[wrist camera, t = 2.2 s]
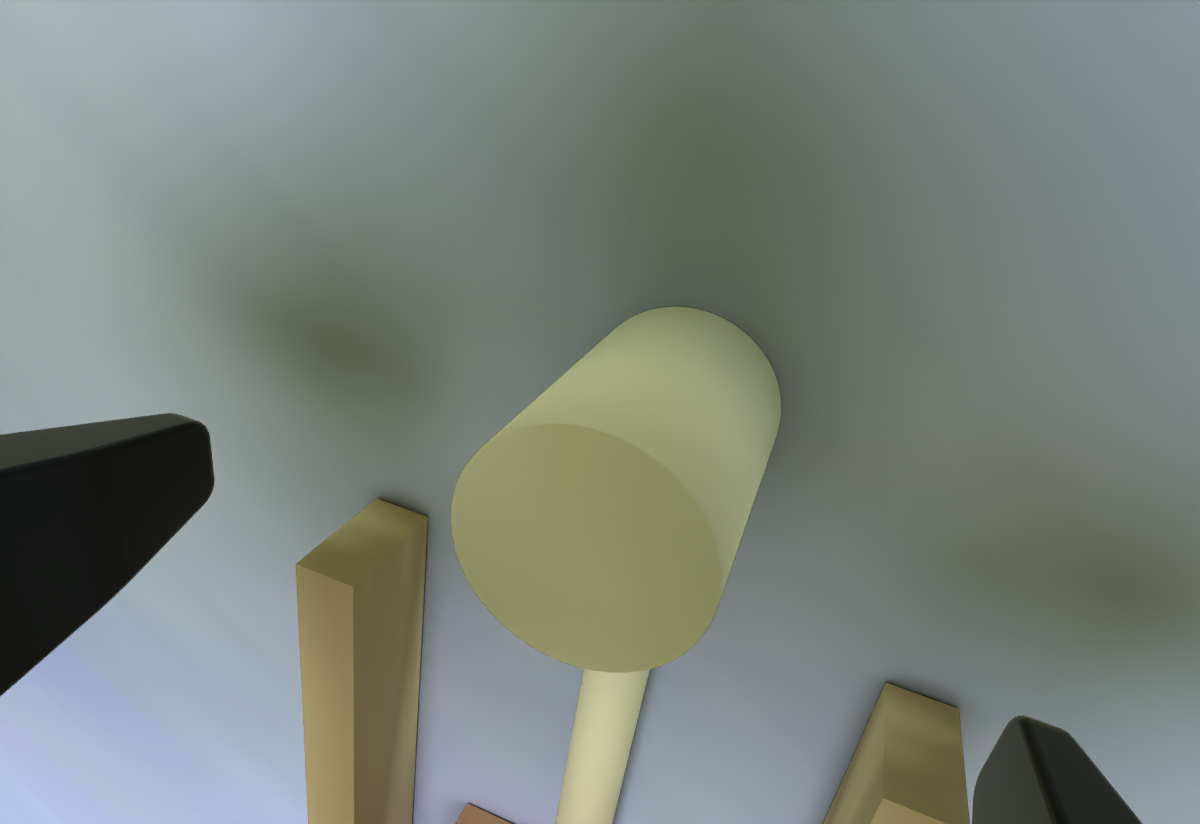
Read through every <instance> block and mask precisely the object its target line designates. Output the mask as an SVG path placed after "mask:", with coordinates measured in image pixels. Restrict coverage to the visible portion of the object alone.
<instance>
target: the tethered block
mask: <svg viewBox="0 0 1200 824" xmlns="http://www.w3.org/2000/svg"><path fill="white" fill-rule="evenodd" d="M780 420H781V395H780V390H779V386H778V382H777V379H776V376H775V374H774V371H773V369H772V367H771V365H770V363H769V361H768V359H767V357H766V356H765V355H764V353H763V352H762V351H761V349H760V348H759V346H758V345H757V344H756V343H755V342H754V341H753V340H752V339H751V338H750V337H749V336H748V335H747V334H746V333H744V332H743V331H742V330H741V329H740V328H738V327H737V326H735V325H734V324H732V323H730V322H729V321H727V320H725V319H723V318H721V317H719V316H717V315H715V314H712V313H709V312H706V311H703V310H699V309H694V308H688V307H662V308H657V309H652V310H648V311H645V312H643V313H640V314H637V315H635V316H633V317H631V318H629V319H628V320H626V321H625V322H623V323H622V324H620V325H619V326H618V327H616V328H615V329H614V330H613V331H612V332H611V333H610V334H609V335H607V336H606V337H605V338H604V339H603V340H602V341H601V342H600V343H598V344H597V345H596V346H595V347H594V348H593V349H592V350H591V351H589V352H588V353H587V354H586V355H585V356H584V357H583V358H582V359H580V360H579V361H578V362H577V363H576V364H575V365H574V366H573V367H571V368H570V369H569V370H568V371H567V372H566V373H565V374H564V375H562V376H561V377H560V378H559V379H558V380H557V381H556V382H555V383H553V384H552V385H551V386H550V387H549V388H548V389H547V390H546V391H544V392H543V393H542V394H541V395H540V396H539V397H538V398H537V399H535V400H534V401H533V402H532V403H531V404H530V405H529V406H528V407H526V408H525V409H524V410H523V411H522V412H521V413H520V414H519V415H517V416H516V417H515V418H514V419H513V420H512V421H511V422H510V423H509V424H507V425H506V426H505V427H504V428H503V429H502V430H501V431H500V432H498V433H497V434H496V435H495V436H494V437H493V438H492V439H491V440H489V441H488V442H487V443H486V444H485V445H484V446H483V447H482V448H481V449H480V450H479V451H478V452H477V453H476V454H475V455H474V456H473V457H472V458H471V459H470V461H469V462H468V463H467V465H466V466H465V468H464V469H463V471H462V473H461V475H460V477H459V479H458V481H457V484H456V488H455V491H454V494H453V499H452V506H451V529H452V537H453V542H454V546H455V550H456V554H457V557H458V559H459V562H460V564H461V567H462V570H463V572H464V574H465V576H466V577H467V579H468V581H469V583H470V585H471V587H472V588H473V590H474V591H475V593H476V594H477V596H478V597H479V599H480V600H481V601H482V602H483V604H484V605H485V606H486V607H487V609H488V610H489V611H490V612H491V613H492V614H493V615H494V616H495V617H496V618H497V619H498V620H499V621H500V622H501V623H502V625H504V626H505V627H506V628H507V629H508V630H510V631H511V632H512V633H513V634H514V635H516V636H517V637H518V638H520V639H521V640H523V641H524V642H526V643H527V644H528V645H530V646H532V647H533V648H535V649H537V650H539V651H540V652H542V653H544V654H546V655H548V656H550V657H552V658H555V659H557V660H559V661H561V662H564V663H567V664H570V665H573V666H576V667H580V668H584V672H583V678H582V683H581V688H580V694H579V699H578V704H577V710H576V715H575V720H574V725H573V731H572V736H571V741H570V747H569V752H568V757H567V763H566V768H565V773H564V779H563V784H562V789H561V794H560V800H559V805H558V810H557V816H556V821H555V824H612V823H613V819H614V815H615V811H616V806H617V802H618V798H619V794H620V790H621V786H622V782H623V778H624V774H625V769H626V765H627V761H628V757H629V753H630V749H631V745H632V741H633V737H634V732H635V728H636V724H637V720H638V716H639V712H640V708H641V704H642V700H643V695H644V691H645V687H646V683H647V679H648V675H649V671H650V669H652V668H656V667H659V666H661V665H664V664H666V663H669V662H671V661H673V660H675V659H676V658H678V657H680V656H681V655H683V654H684V653H686V652H687V651H688V650H689V649H690V648H692V647H693V646H694V645H695V644H696V643H697V642H698V641H699V640H700V638H701V637H702V636H703V635H704V634H705V632H706V631H707V629H708V627H709V626H710V624H711V622H712V621H713V618H714V616H715V613H716V610H717V608H718V605H719V602H720V599H721V596H722V593H723V591H724V588H725V585H726V582H727V579H728V576H729V573H730V570H731V567H732V564H733V561H734V558H735V556H736V553H737V550H738V547H739V544H740V541H741V538H742V535H743V532H744V529H745V526H746V523H747V521H748V518H749V515H750V512H751V509H752V506H753V503H754V500H755V497H756V494H757V491H758V489H759V486H760V483H761V480H762V477H763V474H764V471H765V468H766V465H767V462H768V459H769V456H770V454H771V451H772V448H773V445H774V442H775V439H776V436H777V433H778V430H779V425H780ZM456 824H512V823H509V822H507V821H505V820H503V819H501V818H499V817H496V816H494V815H492V814H490V813H488V812H486V811H484V810H481V809H479V808H477V807H475V806H473V805H471V804H467V806H466V807H465V809H464V811H463V812H462V814H461V816H460V817H459V819H458V821H457V822H456Z"/></svg>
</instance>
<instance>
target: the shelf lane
mask: <svg viewBox="0 0 1200 824" xmlns="http://www.w3.org/2000/svg"><path fill="white" fill-rule="evenodd" d="M427 525H428V517H427V516H424V515H421V514H418V513H416V512H413V511H410V510H407V509H405V508H402V507H399V506H396V505H393V504H391V503H388V502H385V501H382V500H380V499H376V500H374V501H373V502H372V503H371V504H369V505H368V506H367V507H366V508H364V509H363V510H362V511H361V512H359V513H358V514H357V515H356V516H355V517H353V518H352V519H351V520H350V521H348V522H347V523H346V524H345V525H343V526H342V527H341V528H340V529H338V530H337V531H336V532H335V533H334V534H332V535H331V536H330V537H329V538H327V539H326V540H325V541H324V542H322V543H321V544H320V545H319V546H317V547H316V548H315V549H314V550H312V551H311V552H310V553H309V554H308V555H306V556H305V557H304V558H303V559H301V560H300V561H299V562H298V563H296V577H297V598H298V619H299V640H300V661H301V682H302V703H303V724H304V745H305V765H306V786H307V807H308V824H412V816H413V796H414V777H415V758H416V738H417V719H418V700H419V680H420V661H421V642H422V622H423V603H424V583H425V564H426V545H427ZM823 824H970V821H969V810H968V800H967V789H966V778H965V767H964V757H963V746H962V735H961V724H960V714H959V709H958V708H955V707H952V706H949V705H947V704H944V703H941V702H938V701H936V700H933V699H930V698H927V697H925V696H922V695H919V694H916V693H914V692H911V691H908V690H905V689H902V688H900V687H897V686H894V685H891V684H889V683H885V686H884V688H883V690H882V692H881V694H880V697H879V699H878V701H877V703H876V706H875V708H874V710H873V712H872V715H871V717H870V719H869V721H868V724H867V726H866V728H865V730H864V733H863V735H862V737H861V739H860V742H859V744H858V746H857V748H856V751H855V753H854V755H853V757H852V760H851V762H850V764H849V766H848V769H847V771H846V773H845V775H844V778H843V780H842V782H841V784H840V787H839V789H838V791H837V793H836V795H835V798H834V800H833V802H832V804H831V807H830V809H829V811H828V813H827V816H826V818H825V820H824V822H823Z"/></svg>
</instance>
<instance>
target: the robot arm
mask: <svg viewBox="0 0 1200 824" xmlns="http://www.w3.org/2000/svg"><path fill="white" fill-rule="evenodd" d="M213 487H214V472H213V462H212V452H211V442H210V435H209V432H208V430H207V428H206V426H205V425H203V424H202V423H201V422H199V421H196V420H193V419H190V418H188V417H185V416H182V415H179V414H173V413H166V414H158V415H151V416H143V417H135V418H127V419H119V420H112V421H104V422H96V423H88V424H80V425H73V426H65V427H57V428H49V429H42V430H34V431H26V432H18V433H10V434H3V435H0V696H2V695H3V694H4V693H5V692H6V691H7V690H8V689H10V688H11V687H12V686H13V685H14V684H15V683H17V682H18V681H19V680H20V679H21V678H22V677H23V676H25V675H26V674H27V673H28V672H29V671H30V670H31V669H33V668H34V667H35V666H36V665H37V664H38V663H39V662H41V661H42V660H43V659H44V658H45V657H46V656H47V655H49V654H50V653H51V652H52V651H53V650H54V649H56V648H57V647H58V646H59V645H60V644H61V643H62V642H64V641H65V640H66V639H67V638H68V637H69V636H70V635H72V634H73V633H74V632H75V631H76V630H77V629H78V628H80V627H81V626H82V625H83V624H84V623H85V622H86V621H88V620H89V619H90V618H91V617H92V616H93V615H95V614H96V613H97V612H98V611H99V610H100V609H101V608H102V607H103V606H105V605H106V604H107V603H108V602H109V601H110V600H111V599H112V598H113V597H114V596H115V595H116V594H117V593H118V592H119V591H120V590H122V589H123V588H124V587H125V586H126V585H127V584H128V583H129V582H130V581H131V580H132V579H133V577H134V576H135V575H136V574H137V573H138V572H139V571H140V570H141V569H142V568H143V567H144V566H145V565H146V564H147V563H148V562H149V561H150V560H151V559H152V558H153V557H154V556H155V555H156V554H157V553H158V552H159V551H160V549H161V548H162V547H163V546H164V545H165V544H166V543H167V542H168V541H169V540H170V539H171V538H172V537H173V536H174V535H175V534H176V533H177V532H178V531H179V530H180V529H181V528H182V527H183V526H184V525H185V524H186V523H187V521H188V520H189V519H190V518H191V517H192V516H193V515H194V514H195V513H196V512H197V511H198V510H199V509H200V508H201V507H202V506H203V505H204V504H205V503H206V501H207V500H208V499H209V497H210V495H211V493H212V491H213ZM972 824H1142V822H1141V821H1140V820H1139V819H1138V817H1137V816H1136V815H1135V814H1134V813H1133V811H1132V810H1131V809H1130V808H1129V806H1128V805H1127V804H1126V803H1125V801H1124V800H1123V799H1122V798H1121V796H1120V795H1119V794H1118V793H1117V791H1116V790H1115V789H1114V788H1113V786H1112V785H1111V784H1110V783H1109V781H1108V780H1107V779H1106V778H1105V777H1104V775H1103V774H1102V773H1101V772H1100V770H1099V769H1098V768H1097V767H1096V765H1095V764H1094V763H1093V762H1092V760H1091V759H1090V758H1089V757H1088V755H1087V754H1086V753H1085V752H1084V750H1083V749H1082V748H1081V747H1080V745H1079V744H1078V743H1077V742H1076V741H1075V739H1074V738H1073V737H1072V736H1071V735H1070V734H1069V733H1067V732H1066V731H1064V730H1063V729H1060V728H1058V727H1055V726H1052V725H1049V724H1047V723H1044V722H1041V721H1038V720H1035V719H1032V718H1030V717H1027V716H1017V717H1014V718H1013V719H1012V720H1011V721H1010V722H1009V723H1008V725H1007V726H1006V728H1005V729H1004V731H1003V733H1002V735H1001V736H1000V738H999V740H998V742H997V743H996V745H995V747H994V749H993V750H992V752H991V754H990V756H989V757H988V759H987V761H986V763H985V765H984V766H983V768H982V770H981V772H980V774H979V776H978V779H977V782H976V786H975V790H974V796H973V814H972Z"/></svg>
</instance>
